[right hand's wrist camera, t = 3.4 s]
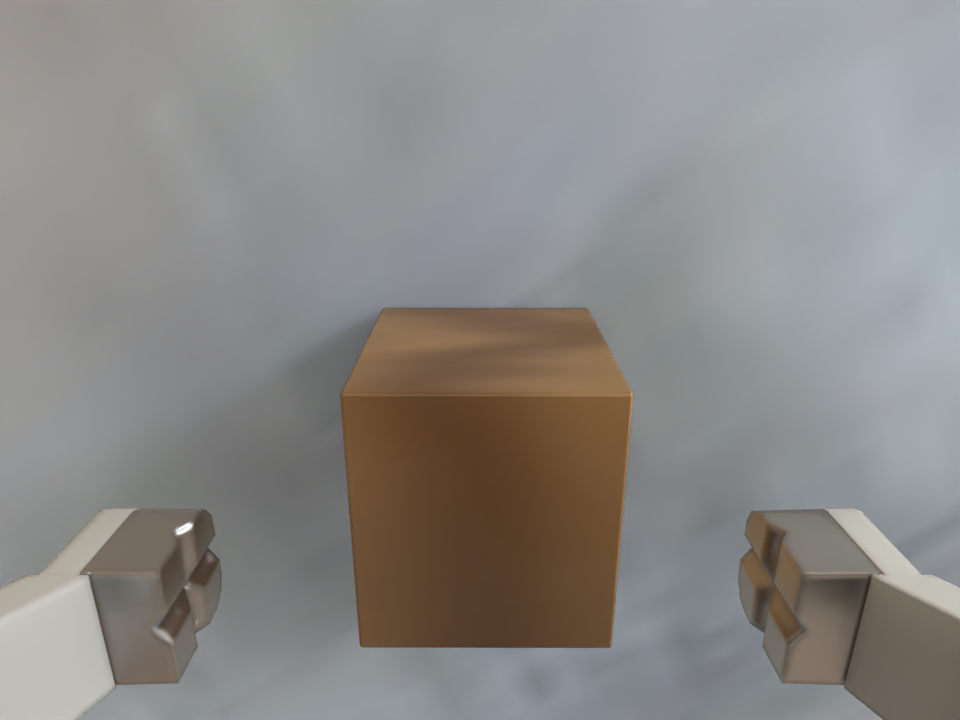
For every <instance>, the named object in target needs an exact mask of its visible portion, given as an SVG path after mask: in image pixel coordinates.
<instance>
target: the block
mask: <svg viewBox="0 0 960 720" xmlns="http://www.w3.org/2000/svg"><path fill="white" fill-rule="evenodd" d="M340 399H341V411H342V424H343V437H344V450H345V462H346V475H347V488H348V500H349V513H350V526H351V539H352V551H353V564H354V577H355V589H356V602H357V615H358V628H359V640H360V645H361V647H464V648H609V647H611V645H612V636H613V624H614V613H615V601H616V589H617V578H618V566H619V555H620V543H621V532H622V520H623V509H624V497H625V486H626V474H627V463H628V451H629V440H630V428H631V417H632V405H633V393H632V391H631V389H630V387H629V385H628V384H627V382H626V380H625V378H624V376H623V374H622V372H621V370H620V368H619V366H618V365H617V363H616V361H615V359H614V357H613V355H612V353H611V351H610V349H609V347H608V346H607V344H606V342H605V340H604V338H603V336H602V334H601V332H600V330H599V328H598V327H597V325H596V323H595V321H594V319H593V317H592V315H591V313H590V311H589V309H513V308H384V309H382V311H381V313H380V315H379V317H378V319H377V321H376V323H375V325H374V327H373V329H372V331H371V333H370V335H369V337H368V339H367V341H366V343H365V345H364V347H363V349H362V351H361V353H360V355H359V357H358V359H357V362H356V364H355V366H354V368H353V370H352V372H351V374H350V376H349V378H348V380H347V382H346V384H345V386H344V388H343V390H342V392H341V394H340Z"/></svg>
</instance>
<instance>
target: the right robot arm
mask: <svg viewBox="0 0 960 720" xmlns="http://www.w3.org/2000/svg"><path fill="white" fill-rule="evenodd" d="M214 536H215V530H214V525H213V520H212V516H211V515H210V514H209V513H208V512H207V511H206V510H194V509H145V508H142V509H138V508H109V509H104V510H100V511H99V512H98V513H97V514H96V515H95V516H94V517H93V518H92V519H91V520H90V521H89V522H88V524H87V525H86V526H85V527H84V528H83V529H82V530H81V531H80V532H79V533H78V534H77V535H76V536H75V537H74V538H73V539H72V540H71V541H70V542H69V543H68V545H67V546H66V547H65V548H64V549H63V550H62V551H61V552H60V553H59V554H58V555H57V556H56V557H55V558H54V559H53V560H52V561H51V562H50V563H49V564H48V566H47V567H46V568H45V569H44V570H43V571H42V572H41V573H40V574H39V575H26V576H24V577H22V578H20V579H18V580H16V581H14V582H11V583H9V584H7V585H5V586H3V587H1V588H0V720H77V719H78V718H80V717H81V716H82V715H83V714H85V713H86V712H87V711H88V710H89V709H91V708H92V707H93V706H94V705H96V704H97V703H98V702H99V701H101V700H102V699H103V698H104V697H105V696H107V695H108V694H109V693H110V692H112V691H113V690H114V689H115V688H116V686H115V685H129V684H163V683H179V681H180V679H181V677H182V675H183V673H184V671H185V669H186V667H187V666H188V664H189V662H190V660H191V658H192V656H193V654H194V652H195V650H196V649H197V647H198V646H197V640H196V635H195V633H197V632H198V631H199V630H201V629H202V628H204V627H205V626H207V625H208V624H210V622H211V620H212V618H213V616H214V614H215V612H216V610H217V606H218V602H219V597H220V593H221V580H222V573H221V566H220V559H219V558H218V557H217V556H216V555H215V554H214V553H213V552H212V551H211V550H210V549H209V548H208V546H209V544H210V543H211V541H212V539H213V538H214ZM745 536H746V538H747V539H748V541H749V543H750V544H751V546H752V548H751V549H750V550H749V551H748V552H747V553H746V554H745V555H744V556H743V557H742V558H741V559H740V567H739V575H738V583H739V593H740V599H741V603H742V606H743V609H744V612H745V614H746V616H747V618H748V620H749V622H750V624H752V625H753V626H755V627H756V628H758V629H759V630H761V631H762V632H763V633H765V635H764V640H763V646H762V647H763V649H764V650H765V652H766V654H767V656H768V658H769V660H770V662H771V664H772V665H773V667H774V669H775V671H776V673H777V675H778V677H779V679H780V680H781V682H782V683H795V684H831V685H845V686H844V688H845V689H846V690H847V691H849V692H850V693H851V694H852V695H854V696H855V697H856V698H857V699H859V700H860V701H861V702H862V703H863V704H865V705H866V706H867V707H868V708H870V709H871V710H872V711H873V712H874V713H876V714H877V715H878V716H879V717H881V718H882V719H883V720H960V588H959V587H957V586H955V585H953V584H951V583H949V582H946V581H944V580H942V579H940V578H938V577H936V576H934V575H921V574H920V573H919V572H918V571H917V570H916V569H915V568H914V567H913V565H912V564H911V563H910V562H909V561H908V560H907V559H906V558H905V557H904V556H903V555H902V554H901V553H900V552H899V551H898V550H897V549H896V548H895V547H894V545H893V544H892V543H891V542H890V541H889V540H888V539H887V538H886V537H885V536H884V535H883V534H882V533H881V532H880V531H879V530H878V529H877V528H876V527H875V526H874V524H873V523H872V522H871V521H870V520H869V519H868V518H867V517H866V516H865V515H864V514H863V513H862V512H861V511H859V510H856V509H854V508H831V509H811V510H766V511H751V513H750V515H749V517H748V519H747V523H746V529H745Z"/></svg>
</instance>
